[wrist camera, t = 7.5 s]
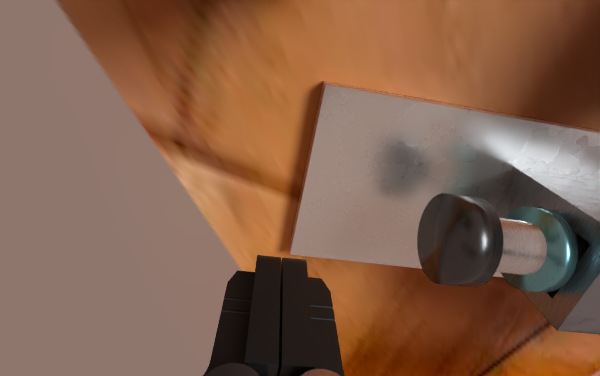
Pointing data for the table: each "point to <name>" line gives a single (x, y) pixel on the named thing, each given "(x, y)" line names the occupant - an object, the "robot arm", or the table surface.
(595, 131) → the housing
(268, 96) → the table surface
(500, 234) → the shaft
